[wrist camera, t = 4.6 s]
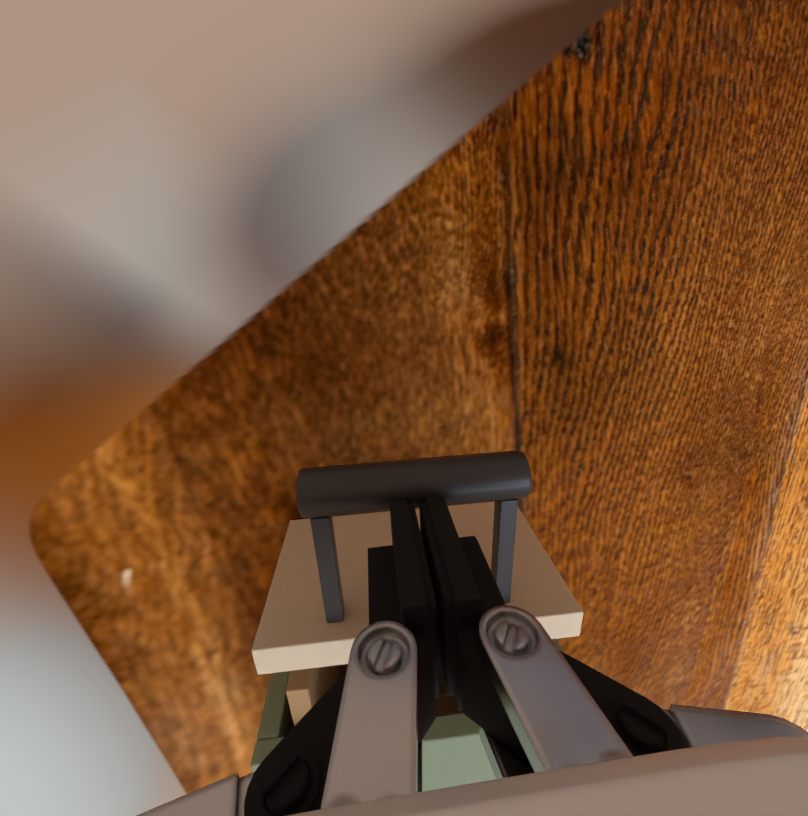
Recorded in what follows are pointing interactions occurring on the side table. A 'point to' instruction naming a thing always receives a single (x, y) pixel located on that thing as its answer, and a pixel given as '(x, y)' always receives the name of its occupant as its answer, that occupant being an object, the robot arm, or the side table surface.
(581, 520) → the side table surface
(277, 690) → the cabinet
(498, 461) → the drawer
